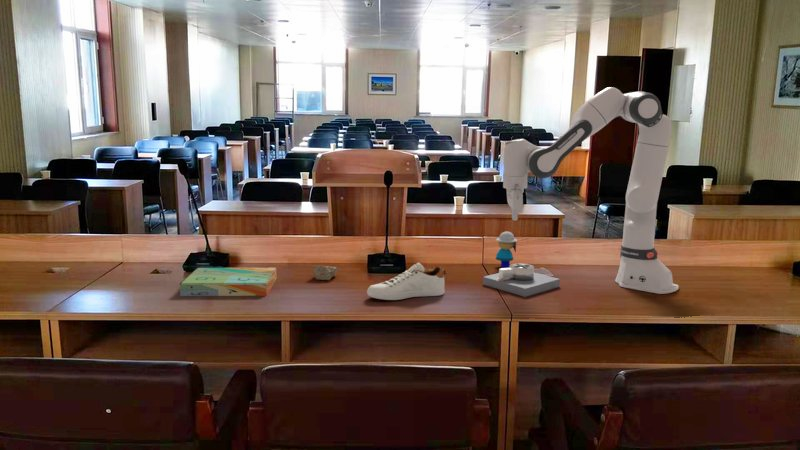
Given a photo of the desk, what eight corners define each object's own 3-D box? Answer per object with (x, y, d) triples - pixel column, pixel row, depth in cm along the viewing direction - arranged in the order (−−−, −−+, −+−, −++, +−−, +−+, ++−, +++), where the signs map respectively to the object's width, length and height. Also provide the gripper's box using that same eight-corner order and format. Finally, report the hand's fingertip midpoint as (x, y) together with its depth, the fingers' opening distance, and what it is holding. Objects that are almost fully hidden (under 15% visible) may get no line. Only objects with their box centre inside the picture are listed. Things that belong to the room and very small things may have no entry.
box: (197, 267, 240) (276, 267, 241) (198, 280, 241) (276, 280, 242) (179, 283, 219) (266, 283, 220) (180, 297, 220) (266, 297, 221)
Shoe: (362, 296, 221) (362, 263, 219) (435, 288, 232) (436, 256, 230) (372, 305, 212) (372, 270, 209) (448, 296, 222) (449, 262, 220)
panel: (559, 286, 234) (559, 277, 233) (525, 296, 221) (525, 287, 221) (517, 275, 249) (517, 266, 248) (482, 284, 236) (483, 275, 236)
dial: (524, 272, 240) (525, 261, 239) (538, 278, 232) (539, 267, 231) (494, 276, 235) (494, 264, 234) (507, 282, 227) (507, 270, 226)
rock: (337, 274, 238) (324, 258, 238) (320, 287, 240) (307, 271, 239) (341, 268, 248) (328, 252, 248) (325, 281, 250) (312, 265, 249)
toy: (517, 269, 258) (519, 233, 255) (496, 269, 258) (497, 233, 255) (514, 264, 266) (516, 229, 264) (493, 264, 267) (495, 229, 264)
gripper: (527, 186, 222) (526, 224, 225) (520, 180, 242) (520, 215, 245) (509, 186, 223) (508, 225, 225) (504, 180, 243) (503, 215, 245)
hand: (514, 219), depth 235 cm, fingers closed
